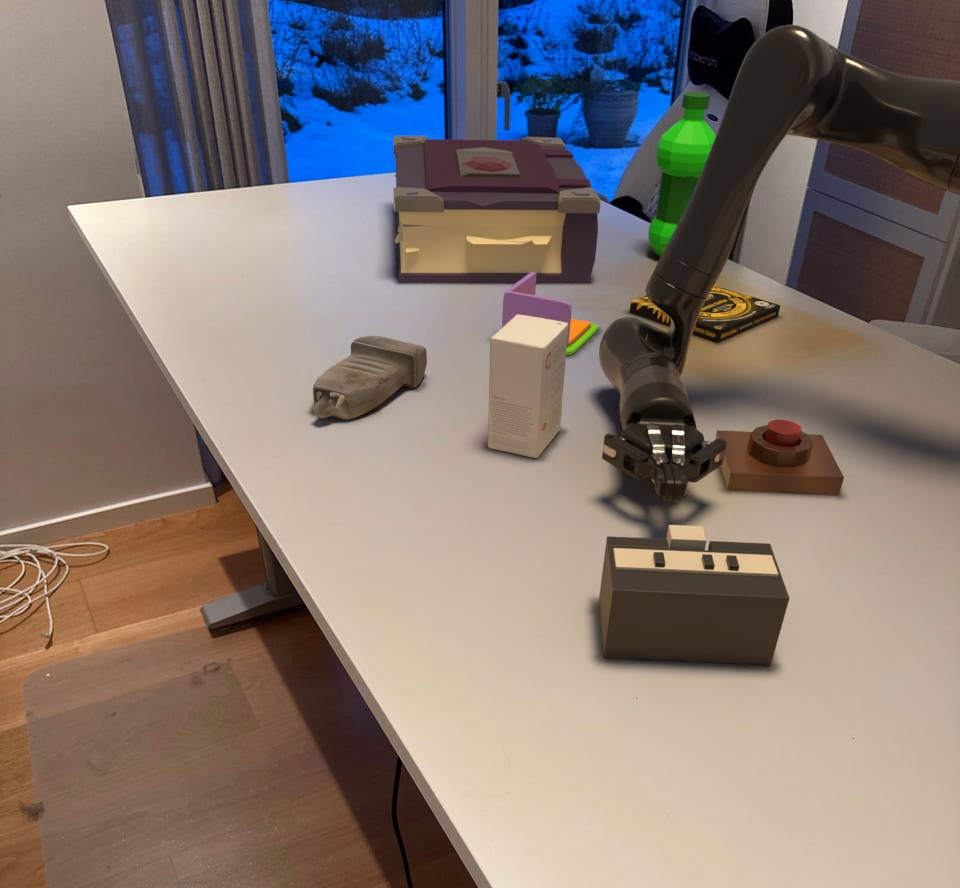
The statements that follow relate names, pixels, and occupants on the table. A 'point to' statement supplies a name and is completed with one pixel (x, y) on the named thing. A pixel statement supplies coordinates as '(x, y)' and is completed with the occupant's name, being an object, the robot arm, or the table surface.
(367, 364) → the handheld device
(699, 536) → the white key
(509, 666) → the table surface
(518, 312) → the toy room diorama
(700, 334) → the guitar strings
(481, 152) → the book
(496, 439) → the small box
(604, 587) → the toy piano
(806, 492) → the brown base plate
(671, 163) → the plastic bottle
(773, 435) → the bell button
